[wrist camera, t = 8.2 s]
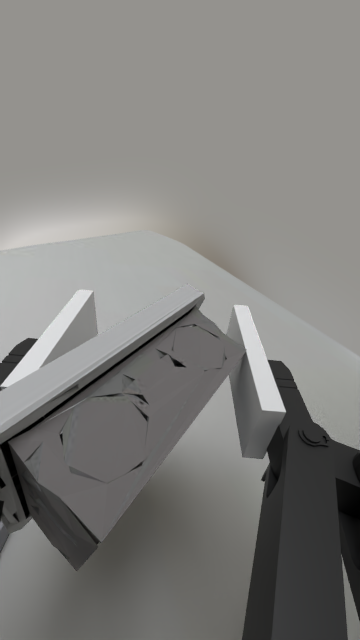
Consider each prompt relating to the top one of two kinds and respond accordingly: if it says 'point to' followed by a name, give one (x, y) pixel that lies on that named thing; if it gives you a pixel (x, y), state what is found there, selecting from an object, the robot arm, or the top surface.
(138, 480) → the electrical switch
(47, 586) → the top surface
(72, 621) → the top surface
